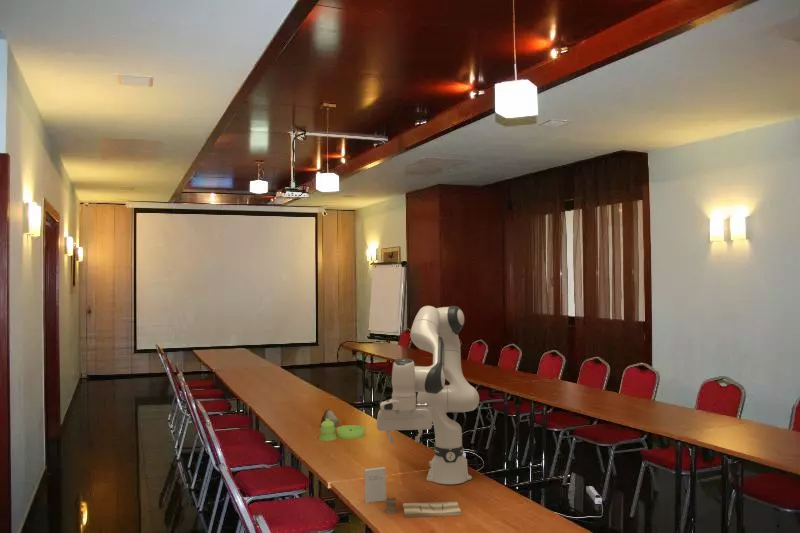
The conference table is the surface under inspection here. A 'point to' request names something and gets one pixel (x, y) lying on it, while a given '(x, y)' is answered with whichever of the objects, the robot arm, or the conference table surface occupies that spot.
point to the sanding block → (391, 504)
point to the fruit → (330, 415)
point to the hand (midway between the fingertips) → (404, 442)
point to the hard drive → (375, 484)
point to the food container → (340, 431)
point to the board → (431, 509)
